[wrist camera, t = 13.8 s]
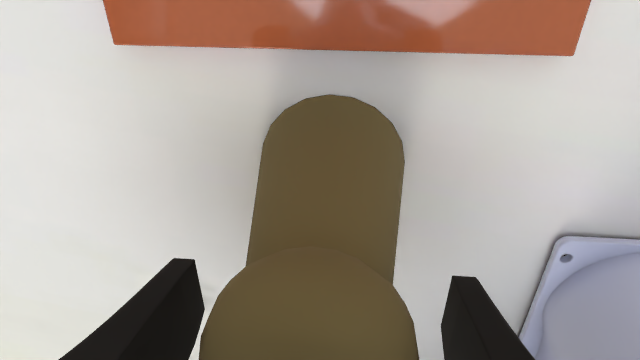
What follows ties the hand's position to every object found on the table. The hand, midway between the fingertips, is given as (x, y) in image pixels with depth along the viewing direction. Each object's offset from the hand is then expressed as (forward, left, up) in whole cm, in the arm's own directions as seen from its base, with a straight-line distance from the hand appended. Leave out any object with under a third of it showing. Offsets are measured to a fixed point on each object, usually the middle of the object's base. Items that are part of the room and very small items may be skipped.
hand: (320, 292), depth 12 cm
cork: (0, 0, -7) cm, 7 cm away
